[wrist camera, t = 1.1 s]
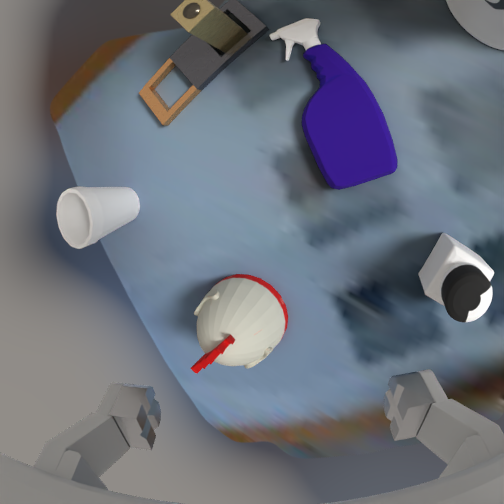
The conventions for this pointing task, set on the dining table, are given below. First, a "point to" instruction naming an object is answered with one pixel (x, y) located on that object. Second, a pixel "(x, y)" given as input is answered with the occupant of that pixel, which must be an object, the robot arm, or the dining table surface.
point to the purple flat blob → (340, 114)
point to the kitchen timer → (239, 322)
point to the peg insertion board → (200, 64)
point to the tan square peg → (209, 24)
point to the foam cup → (94, 212)
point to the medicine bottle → (457, 279)
